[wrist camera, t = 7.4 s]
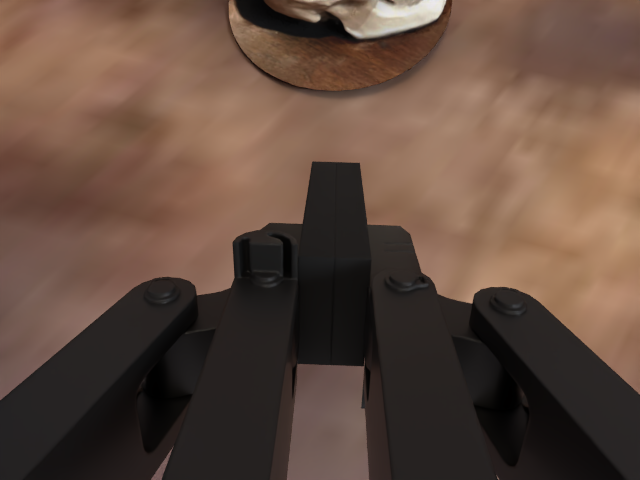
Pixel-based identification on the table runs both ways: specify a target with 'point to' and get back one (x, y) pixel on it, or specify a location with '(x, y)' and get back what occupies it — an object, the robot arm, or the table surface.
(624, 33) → the table surface
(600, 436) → the robot arm
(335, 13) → the skull
